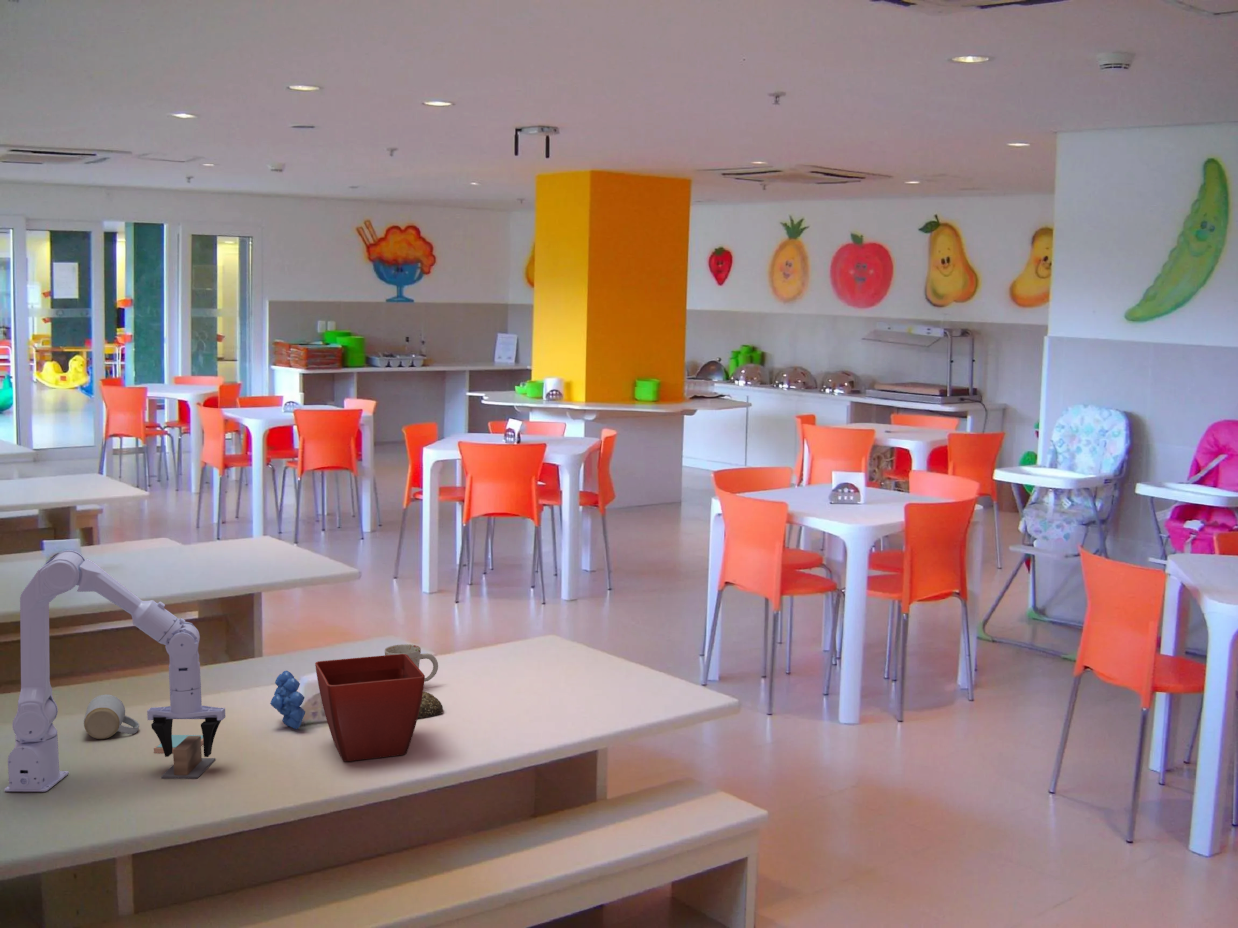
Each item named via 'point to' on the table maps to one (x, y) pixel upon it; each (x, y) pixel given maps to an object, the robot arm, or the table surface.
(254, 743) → the table surface
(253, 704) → the table surface
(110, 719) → the ceramic mug
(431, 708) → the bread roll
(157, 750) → the picture frame
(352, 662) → the plant pot
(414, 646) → the mug
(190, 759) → the bronze rectangular prism
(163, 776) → the mat
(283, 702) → the grapes
